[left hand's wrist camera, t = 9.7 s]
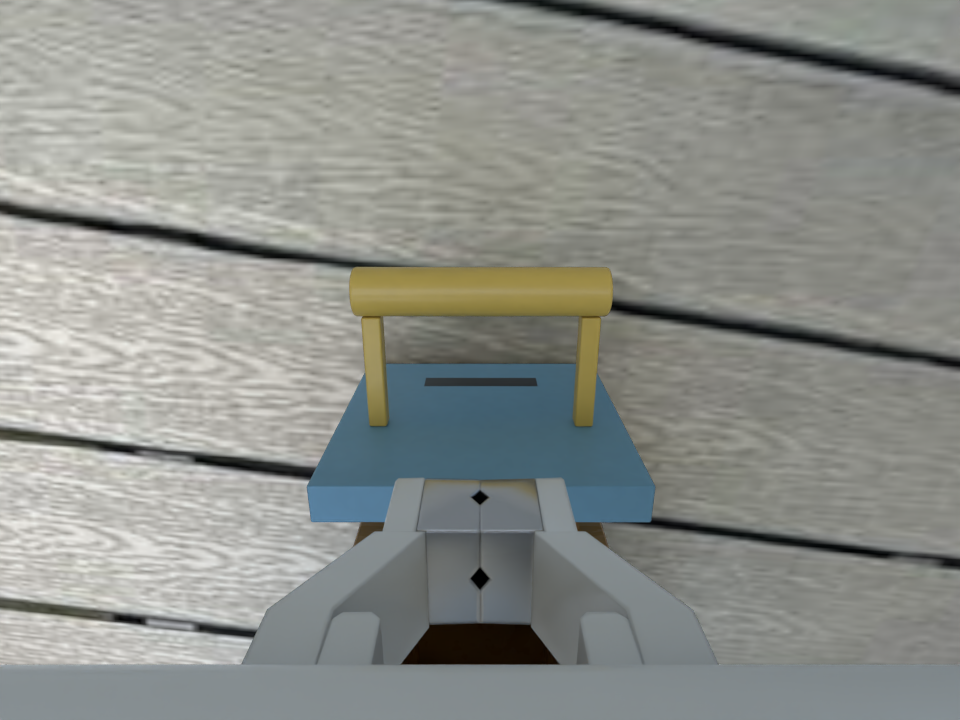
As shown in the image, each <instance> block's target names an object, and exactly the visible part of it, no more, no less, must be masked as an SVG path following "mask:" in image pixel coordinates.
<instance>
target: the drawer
mask: <svg viewBox="0 0 960 720" xmlns="http://www.w3.org/2000/svg"><path fill="white" fill-rule="evenodd" d="M349 297H350V304H351V309H352V311H353V314H354V315H356V316H363V317H362V319H361V324H362V337H363V350H364V363H365V373H364V375H363V377H362V379H361V381H360V383H359V385H358V387H357V389H356V391H355V393H354V395H353V397H352V399H351V401H350V403H349V405H348V407H347V409H346V411H345V413H344V415H343V417H342V419H341V421H340V423H339V424H338V426H337V428H336V430H335V432H334V434H333V436H332V438H331V440H330V442H329V444H328V446H327V448H326V450H325V452H324V454H323V456H322V458H321V460H320V462H319V464H318V466H317V468H316V470H315V472H314V474H313V475H312V477H311V479H310V481H309V483H308V485H307V492H308V500H309V508H310V516H311V521H312V522H361V523H360V526H359V530H358V533H357V536H356V539H355V542H354V545H353V547H354V546H355V545H357V544H358V543H359V542H361V541H362V540H363V539H365V538H366V537H367V536H369V535H370V534H372V533H373V532H375V531H383V527H384V523H385V519H386V515H387V512H388V508H389V504H390V500H391V496H392V492H393V489H394V485H395V481H396V480H397V479H398V478H425V479H426V478H450V479H480V480H492V479H532V478H559V477H561V478H562V479H564V482H565V485H566V489H567V493H568V497H569V501H570V504H571V508H572V512H573V516H574V519H575V523H576V527H577V531H585V532H587V533H588V534H590V535H591V536H593V537H594V538H595V539H597V540H598V541H599V542H601V543H602V544H603V545H605V546H606V547H608V548H609V546H608V543H607V540H606V537H605V534H604V530H603V527H602V524H601V522H651V518H652V510H653V502H654V494H655V485H654V483H653V481H652V479H651V477H650V475H649V473H648V471H647V469H646V467H645V465H644V464H643V462H642V460H641V458H640V456H639V454H638V452H637V450H636V448H635V446H634V444H633V442H632V440H631V438H630V436H629V434H628V432H627V430H626V428H625V426H624V425H623V423H622V421H621V419H620V417H619V415H618V413H617V411H616V409H615V407H614V405H613V403H612V401H611V399H610V397H609V395H608V393H607V391H606V389H605V387H604V385H603V384H602V382H601V380H600V378H599V376H598V374H597V365H598V352H599V339H600V327H601V318H600V317H599V316H607V315H608V314H609V312H610V309H611V305H612V299H613V280H612V274H611V271H610V269H609V268H607V267H355V268H353V269H352V272H351V275H350V282H349ZM383 316H579V325H578V340H577V356H576V364H386V356H385V340H384V324H383ZM400 665H560V664H559V663H558V661H557V660H556V659H555V658H554V656H553V655H552V654H551V652H550V651H549V650H548V648H547V647H546V646H545V645H544V643H543V642H542V641H541V639H540V638H539V637H538V636H537V634H536V633H535V632H534V630H533V629H532V628H531V625H522V624H486V623H472V624H437V625H429V628H428V630H427V631H426V632H425V633H424V635H423V636H422V637H421V639H420V640H419V641H418V643H417V644H416V645H415V646H414V648H413V649H412V650H411V652H410V653H409V654H408V655H407V657H406V658H405V659H404V661H403V662H402V663H401V664H400Z"/></svg>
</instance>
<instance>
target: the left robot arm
mask: <svg viewBox="0 0 960 720" xmlns="http://www.w3.org/2000/svg"><path fill="white" fill-rule="evenodd" d="M472 623H486V624H522V625H531V628H532V629H533V630H534V632H535V633H536V634H537V636H538V637H539V638H540V639H541V641H542V642H543V643H544V645H545V646H546V647H547V648H548V650H549V651H550V652H551V654H552V655H553V656H554V658H555V659H556V660H557V661H558V663H559V664H560V665H400V664H401V663H402V662H403V661H404V659H405V658H406V657H407V655H408V654H409V653H410V652H411V650H412V649H413V648H414V646H415V645H416V644H417V643H418V641H419V640H420V639H421V637H422V636H423V635H424V633H425V632H426V631H427V630H428V628H429V625H437V624H472ZM0 720H960V665H719V664H718V662H717V660H716V658H715V656H714V653H713V651H712V649H711V647H710V645H709V643H708V641H707V638H706V636H705V634H704V632H703V630H702V628H701V625H700V623H699V621H698V619H697V617H696V615H695V613H694V610H692V609H691V608H690V607H688V606H687V605H685V604H684V603H683V602H681V601H680V600H679V599H677V598H676V597H675V596H673V595H672V594H670V593H669V592H668V591H666V590H665V589H664V588H662V587H661V586H659V585H658V584H657V583H655V582H654V581H653V580H651V579H650V578H649V577H647V576H646V575H644V574H643V573H642V572H640V571H639V570H638V569H636V568H635V567H634V566H632V565H631V564H629V563H628V562H627V561H625V560H624V559H623V558H621V557H620V556H618V555H617V554H616V553H614V552H613V551H612V550H610V549H609V548H608V547H606V546H605V545H603V544H602V543H601V542H599V541H598V540H597V539H595V538H594V537H593V536H591V535H590V534H588V533H587V532H585V531H577V527H576V523H575V519H574V516H573V512H572V508H571V504H570V501H569V497H568V493H567V489H566V485H565V482H564V479H562V478H561V477H559V478H532V479H492V480H480V479H450V478H426V479H425V478H398V479H397V480H396V481H395V485H394V489H393V492H392V496H391V500H390V504H389V508H388V512H387V515H386V519H385V523H384V527H383V531H375V532H373V533H372V534H370V535H369V536H367V537H366V538H365V539H363V540H362V541H361V542H359V543H358V544H357V545H355V546H354V547H352V548H351V549H350V550H348V551H347V552H346V553H344V554H343V555H341V556H340V557H339V558H337V559H336V560H335V561H333V562H332V563H330V564H329V565H328V566H326V567H325V568H324V569H322V570H321V571H319V572H318V573H317V574H315V575H314V576H313V577H311V578H310V579H308V580H307V581H306V582H304V583H303V584H302V585H300V586H299V587H297V588H296V589H295V590H293V591H292V592H291V593H289V594H288V595H286V596H285V597H284V598H282V599H281V600H280V601H278V602H277V603H275V604H274V605H273V606H271V607H270V608H269V609H267V611H266V613H265V615H264V617H263V620H262V622H261V624H260V626H259V628H258V630H257V632H256V634H255V637H254V639H253V641H252V643H251V645H250V647H249V649H248V651H247V653H246V656H245V658H244V660H243V662H242V664H241V665H0Z"/></svg>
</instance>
